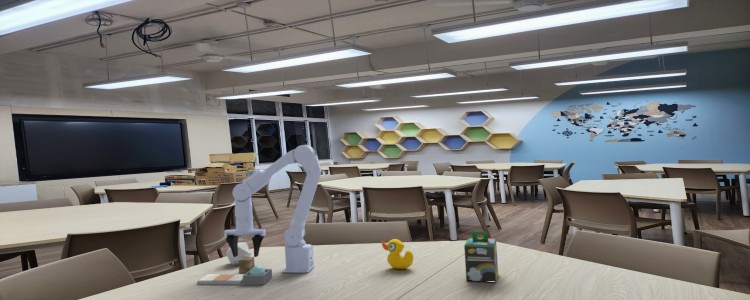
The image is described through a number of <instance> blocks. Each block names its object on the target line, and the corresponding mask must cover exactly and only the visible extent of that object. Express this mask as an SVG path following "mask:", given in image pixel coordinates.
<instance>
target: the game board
mask: <svg viewBox="0 0 750 300" xmlns="http://www.w3.org/2000/svg"><path fill="white" fill-rule="evenodd" d="M243 275H244V274H239V273H238V274H237V273H236V274H234V273H228V274H227V273H224V274H223V273H222V274H220V273H217V274H215V273H214V274H213V273H209V274H206V275H205V276H203V277H201V278H200V279H198V280H197V281H196V283H197V285H242V284H243Z"/></svg>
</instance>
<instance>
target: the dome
mask: <svg viewBox="0 0 750 300" xmlns="http://www.w3.org/2000/svg"><path fill="white" fill-rule="evenodd" d="M265 269H266V268H265V267H262V266H261V265H255V267H253V268H252V269H251V270H250V275H263V274H264V273H265Z"/></svg>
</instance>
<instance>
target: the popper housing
mask: <svg viewBox="0 0 750 300" xmlns="http://www.w3.org/2000/svg"><path fill="white" fill-rule="evenodd" d="M272 279H273V269H272V268H265V273H264V274H263V275H250V271H248V272H247V273H246V274H244V275H243V283H242V284H243V285H244V286H264V285H266V284H267V283H268V282H269V281H271V280H272Z"/></svg>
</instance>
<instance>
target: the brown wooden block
mask: <svg viewBox="0 0 750 300" xmlns="http://www.w3.org/2000/svg"><path fill="white" fill-rule="evenodd" d="M238 262H239V265H238V274H246V273H247V272H248V271H250V270H251V269H252V268H253V267H255V266H256V265H255V257H254V256H250V257H243V258H241V259H239V260H238Z"/></svg>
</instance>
